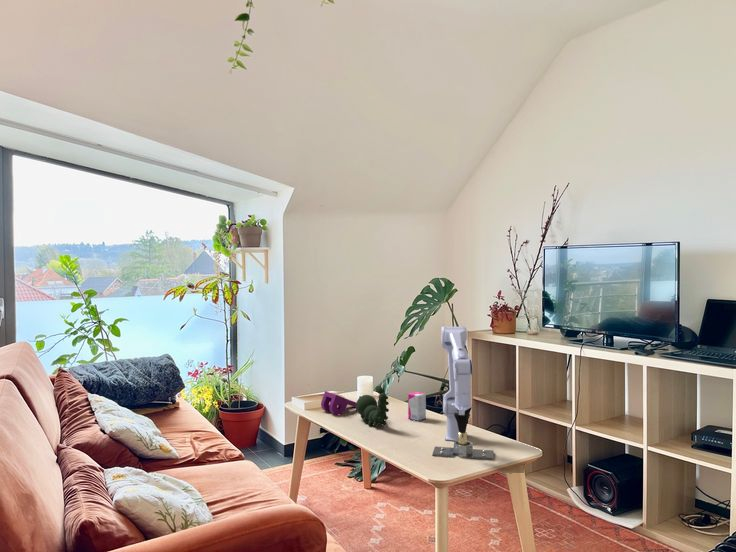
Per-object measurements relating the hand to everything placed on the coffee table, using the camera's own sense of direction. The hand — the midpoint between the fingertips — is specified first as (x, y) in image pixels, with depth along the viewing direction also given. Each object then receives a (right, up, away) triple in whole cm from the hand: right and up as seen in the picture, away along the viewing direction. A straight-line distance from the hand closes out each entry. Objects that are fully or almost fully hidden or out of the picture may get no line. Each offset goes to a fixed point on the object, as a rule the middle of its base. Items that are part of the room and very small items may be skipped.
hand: (463, 429), depth 206 cm
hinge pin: (0, -9, 0) cm, 9 cm away
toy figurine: (-33, -8, +41) cm, 53 cm away
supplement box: (-13, -8, +45) cm, 48 cm away
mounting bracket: (-46, -8, +61) cm, 77 cm away
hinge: (0, -9, 0) cm, 9 cm away
